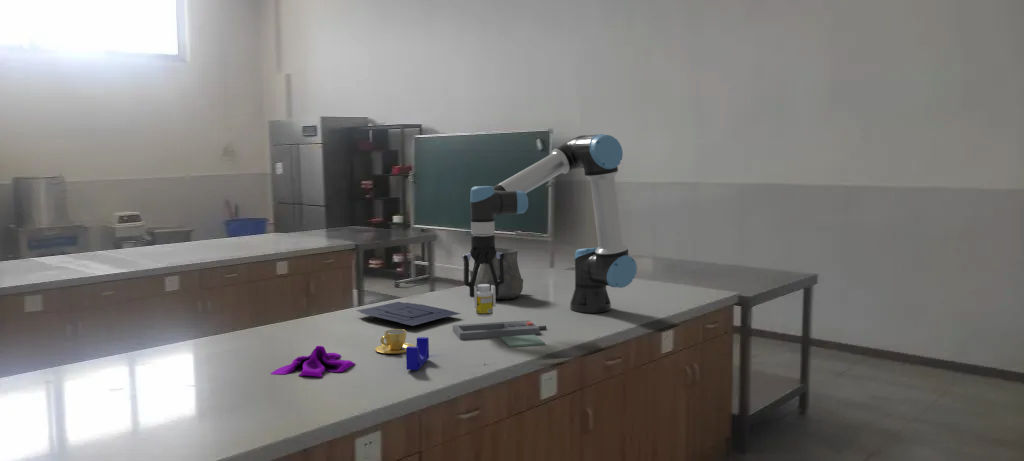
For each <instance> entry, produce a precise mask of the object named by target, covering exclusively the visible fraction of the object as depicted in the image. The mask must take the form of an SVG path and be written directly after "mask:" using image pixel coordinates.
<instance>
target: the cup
mask: <svg viewBox="0 0 1024 461" xmlns="http://www.w3.org/2000/svg"><path fill="white" fill-rule="evenodd" d="M407 332H408V331H407V330H405V329H401V328H400V329H399V328H393V329H388V330H385V331H384V335H383V336H381V337H380V344H379V345H378V346H376V347H375V349H374V350H375V351H376V352H378V353H383V354H403V353H406V348H407V347H408V346H412V347H416V346H417V345H414V344H412V343H407V342H406V339H407ZM402 348H405V349H402ZM401 349H402V350H401Z"/></svg>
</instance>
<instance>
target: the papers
mask: <svg viewBox="0 0 1024 461" xmlns="http://www.w3.org/2000/svg"><path fill="white" fill-rule="evenodd" d="M356 312H359V314H363V315H366V316H370V317H376V318H379V319H384V320H388V321H392V322H396V323H398V324H404V325H407V326H408V325H409V326H412V327H414V326H417V325H421V324H424V323H429V322H432V321H436V320H439V319H443V318H448V317H451V316H457V315H462V314H461V313H460V312H458V311H457V312H456V311H453V310H449V309H446V308H441V307H440V308H439V307H435V306H432V305H431V306H430V305H426V304H421V303H420V304H419V303H412V302H408V301H407V302H402V301H395V302H389V303H386V304H382V305H378V306H377V305H376V306H371V307H365V308H361V309H356Z"/></svg>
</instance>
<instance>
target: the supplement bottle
mask: <svg viewBox="0 0 1024 461" xmlns="http://www.w3.org/2000/svg"><path fill="white" fill-rule="evenodd" d="M489 290H490V285H489V284H480V285H478V292H477V308H475V313H476V316H477V317H483V318H484V317H491V316H493V314H494V307H493V300H492V292H491V291H489Z"/></svg>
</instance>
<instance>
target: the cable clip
mask: <svg viewBox="0 0 1024 461" xmlns="http://www.w3.org/2000/svg"><path fill="white" fill-rule="evenodd" d="M429 338H430V337H428V336H427V337H425V336H418V337H417V338H416V345H415V346H416V347H412V346H408V347H407V348H405V349H406V352H405V353H406V370H407V371H409V370H411V371H419V369H421V367H422V366H423V365H424V364H425V363H426V362H427V361H428V360H429V359H430V354H429V353H430V349H429V348H430V347H429V346H430V342H429V340H430V339H429Z"/></svg>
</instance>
